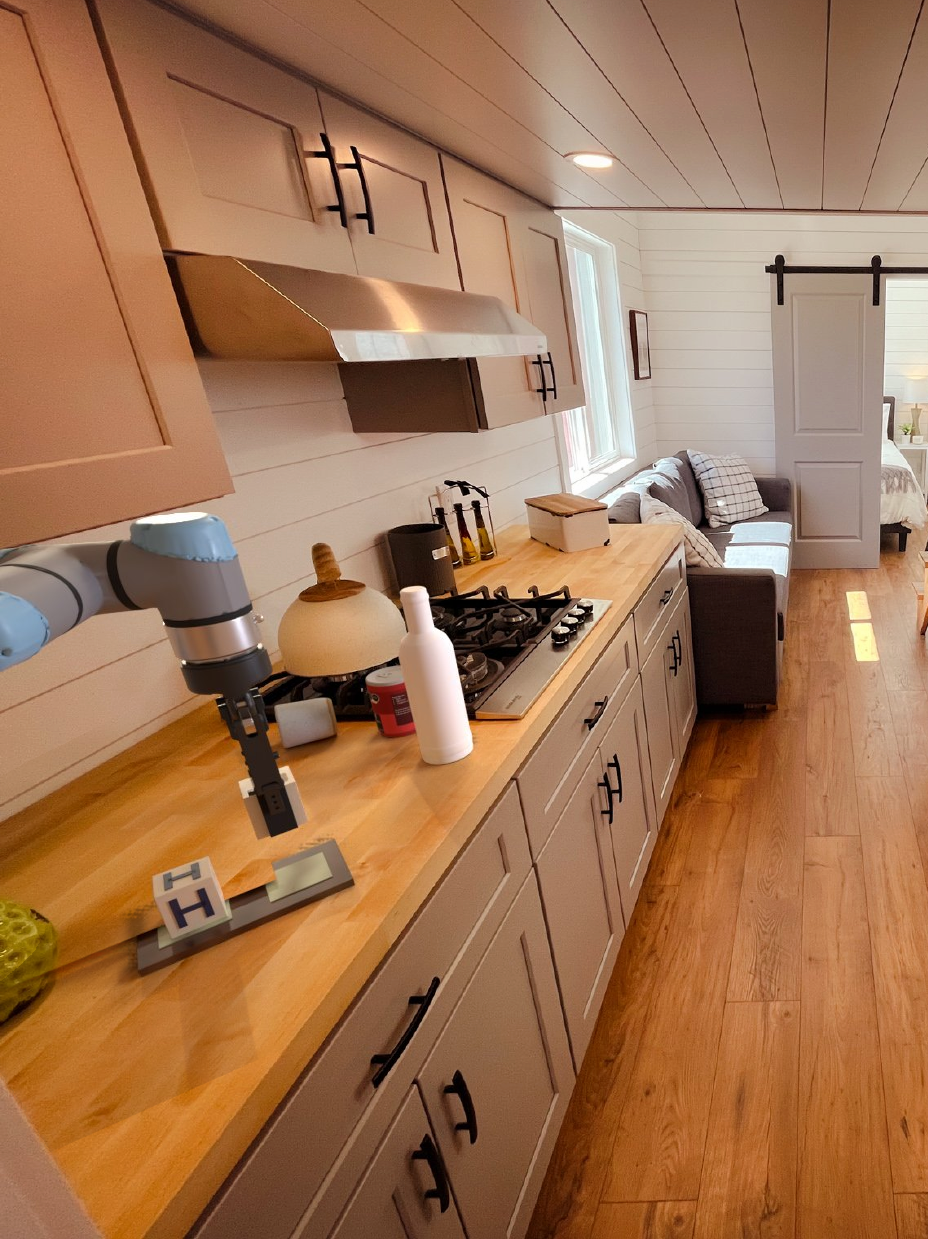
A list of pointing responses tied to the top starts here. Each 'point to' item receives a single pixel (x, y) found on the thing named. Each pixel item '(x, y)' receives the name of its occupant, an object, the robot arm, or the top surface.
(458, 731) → the bottle
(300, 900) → the word board
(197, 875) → the letter H
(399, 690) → the canned food
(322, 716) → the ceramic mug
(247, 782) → the letter I
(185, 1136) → the top surface
